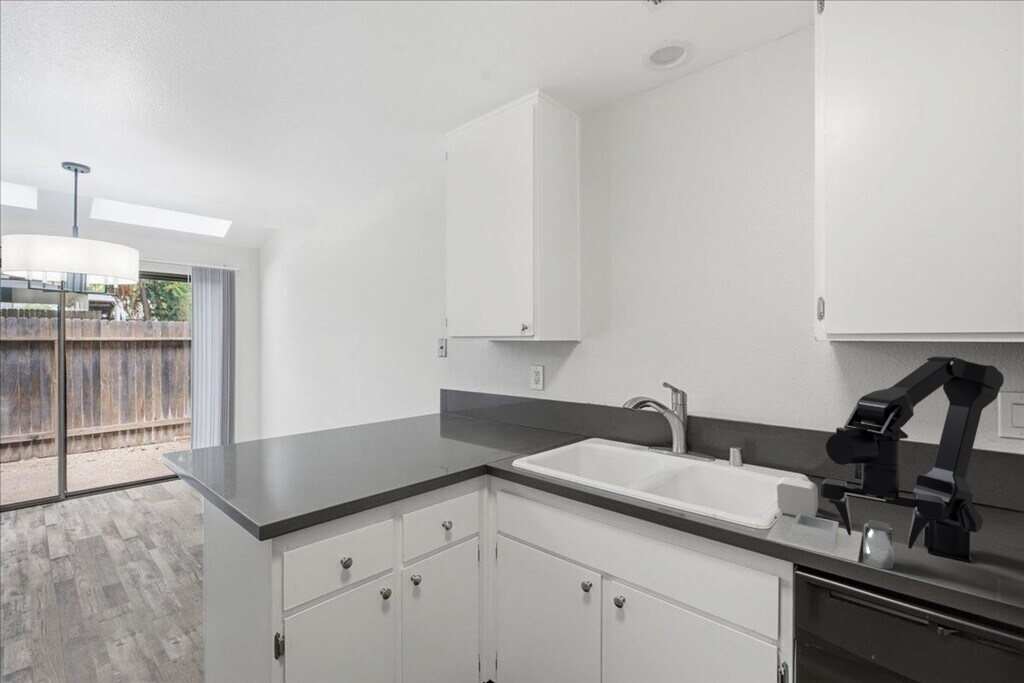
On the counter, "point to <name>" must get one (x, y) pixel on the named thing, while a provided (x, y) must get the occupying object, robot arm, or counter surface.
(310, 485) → the counter surface
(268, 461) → the counter surface
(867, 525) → the sleeve
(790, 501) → the grey rounded block
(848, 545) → the duct socket
